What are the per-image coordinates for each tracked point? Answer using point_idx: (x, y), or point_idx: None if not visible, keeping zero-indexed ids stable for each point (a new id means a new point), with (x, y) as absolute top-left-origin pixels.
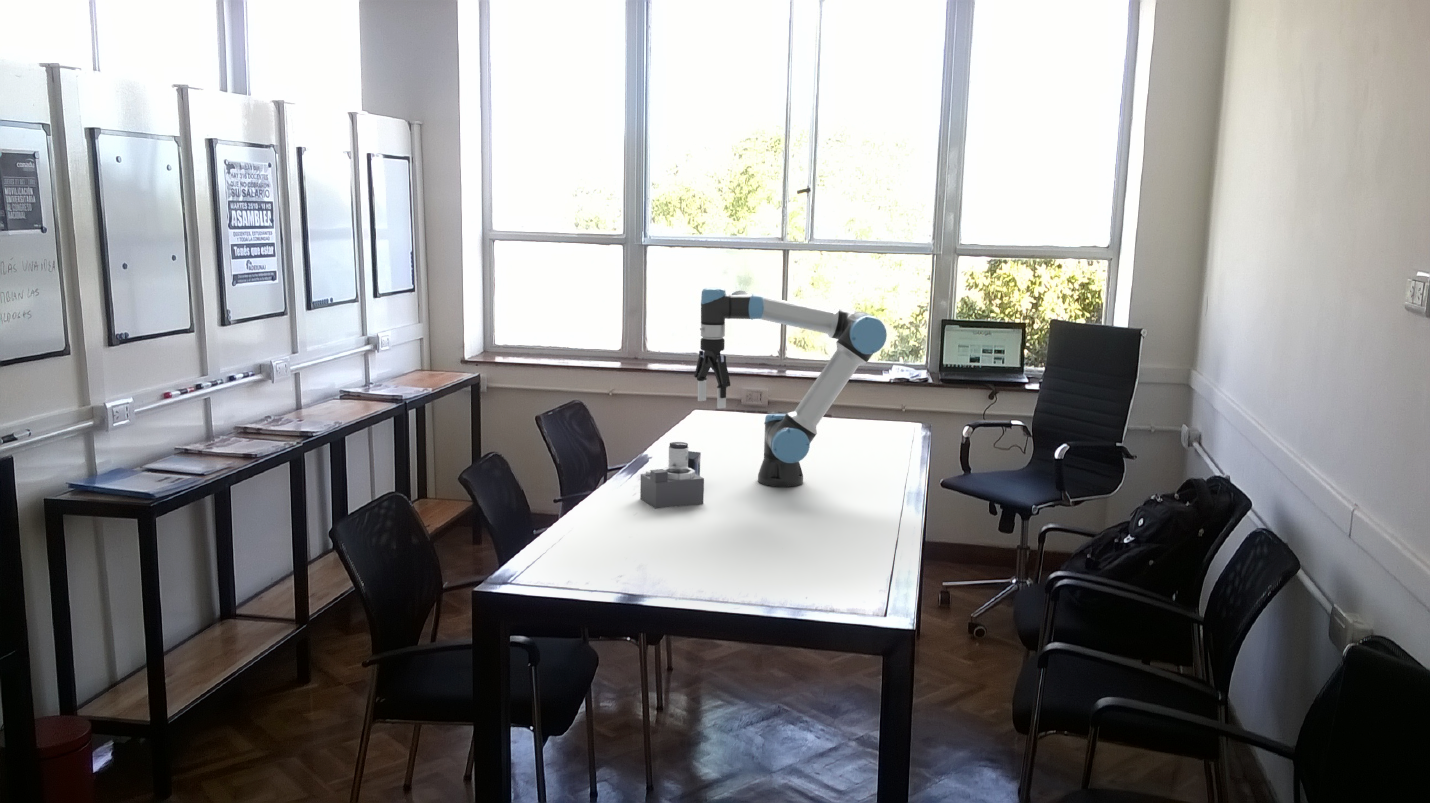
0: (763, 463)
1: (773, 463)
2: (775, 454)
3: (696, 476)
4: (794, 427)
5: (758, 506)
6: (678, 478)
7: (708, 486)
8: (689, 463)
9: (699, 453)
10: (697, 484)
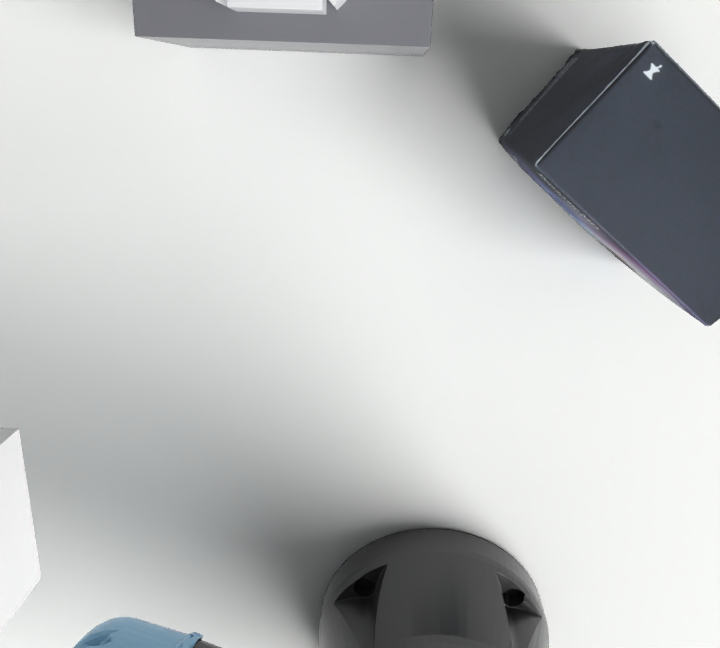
0: (464, 620)
1: (383, 644)
2: (117, 621)
3: (204, 7)
4: None
5: (50, 302)
6: None
7: (518, 263)
8: (549, 133)
9: (680, 301)
10: None
